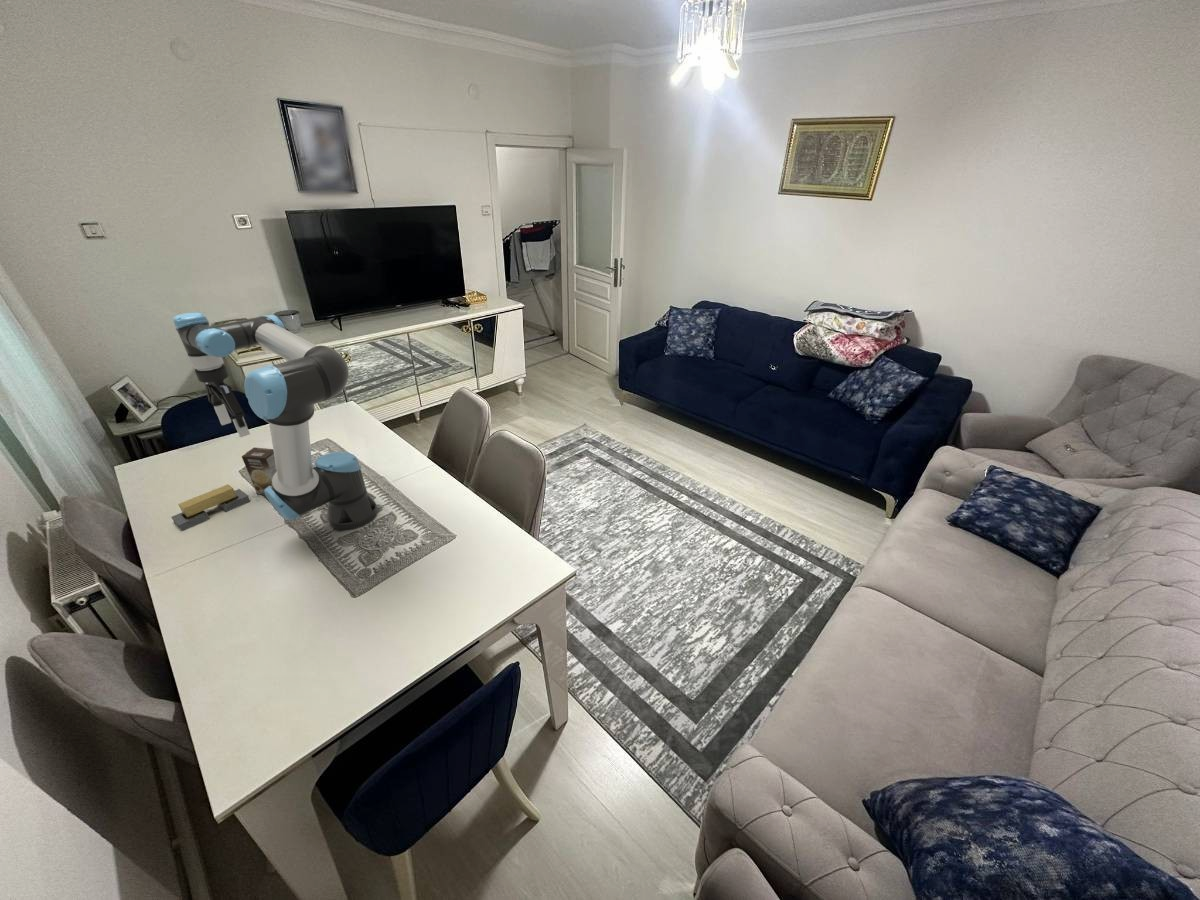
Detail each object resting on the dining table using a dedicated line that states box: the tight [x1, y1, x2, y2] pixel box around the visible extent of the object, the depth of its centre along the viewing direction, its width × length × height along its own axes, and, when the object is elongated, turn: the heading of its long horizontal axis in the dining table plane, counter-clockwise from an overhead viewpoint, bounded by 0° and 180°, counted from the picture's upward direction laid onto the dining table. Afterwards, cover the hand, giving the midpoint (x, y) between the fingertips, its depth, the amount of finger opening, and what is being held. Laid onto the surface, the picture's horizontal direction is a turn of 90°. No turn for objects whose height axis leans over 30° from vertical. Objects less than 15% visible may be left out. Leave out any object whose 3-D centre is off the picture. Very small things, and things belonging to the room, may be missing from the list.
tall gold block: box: [177, 484, 237, 520], centre depth 161 cm, size 4×14×6 cm, turn 144°
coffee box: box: [241, 447, 277, 496], centre depth 170 cm, size 9×6×16 cm
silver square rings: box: [171, 488, 251, 531], centre depth 162 cm, size 7×20×2 cm, turn 144°
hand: (235, 429), depth 154 cm, fingers open, 13 cm apart
